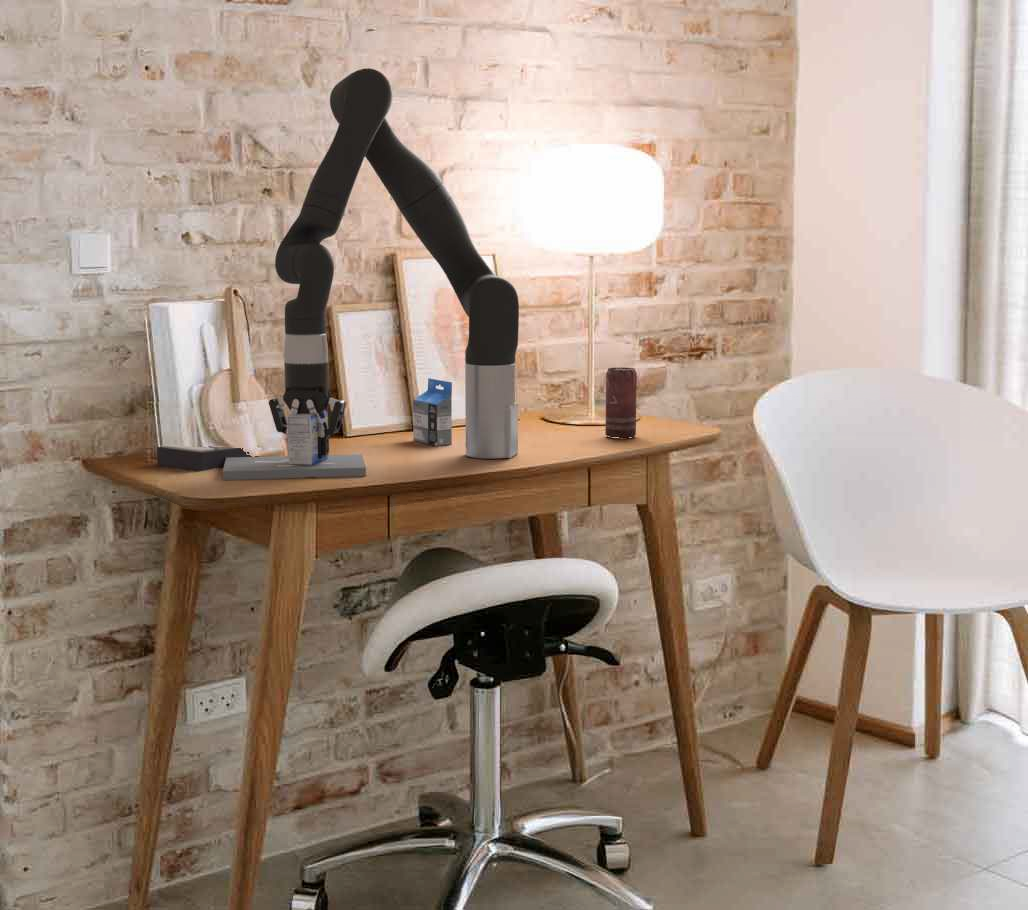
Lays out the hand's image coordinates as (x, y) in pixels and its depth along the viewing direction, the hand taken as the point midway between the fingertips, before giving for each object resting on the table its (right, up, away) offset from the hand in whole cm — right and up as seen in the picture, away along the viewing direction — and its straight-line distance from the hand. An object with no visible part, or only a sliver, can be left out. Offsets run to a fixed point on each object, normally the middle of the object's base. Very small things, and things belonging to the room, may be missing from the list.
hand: (308, 456), depth 239 cm
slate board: (-2, -2, 0) cm, 3 cm away
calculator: (-19, -2, +9) cm, 21 cm away
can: (+58, +4, +38) cm, 69 cm away
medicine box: (0, -1, 0) cm, 1 cm away
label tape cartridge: (+20, +3, +31) cm, 37 cm away
